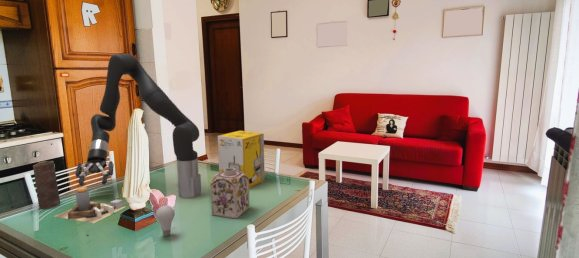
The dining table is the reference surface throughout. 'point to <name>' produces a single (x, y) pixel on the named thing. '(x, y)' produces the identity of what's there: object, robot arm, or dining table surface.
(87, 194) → the connector
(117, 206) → the cable route
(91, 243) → the dining table surface
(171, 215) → the lightbulb
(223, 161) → the packaging box
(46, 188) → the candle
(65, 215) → the board
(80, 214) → the holder
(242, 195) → the decorative jar
